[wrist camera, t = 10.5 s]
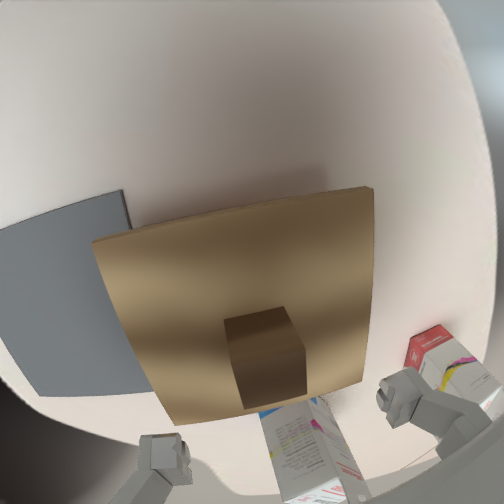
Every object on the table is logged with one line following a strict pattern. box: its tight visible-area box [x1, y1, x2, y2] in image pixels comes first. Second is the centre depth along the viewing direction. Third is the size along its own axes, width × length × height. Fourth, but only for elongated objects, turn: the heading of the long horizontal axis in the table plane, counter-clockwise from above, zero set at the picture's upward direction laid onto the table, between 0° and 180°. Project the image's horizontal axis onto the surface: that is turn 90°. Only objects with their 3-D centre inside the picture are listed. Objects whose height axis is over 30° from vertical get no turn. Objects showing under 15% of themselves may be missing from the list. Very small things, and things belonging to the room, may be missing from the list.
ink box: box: [258, 396, 373, 504], centre depth 20 cm, size 8×5×15 cm, turn 35°
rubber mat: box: [0, 190, 154, 397], centre depth 19 cm, size 17×17×1 cm
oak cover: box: [91, 186, 374, 426], centre depth 14 cm, size 14×14×4 cm
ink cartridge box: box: [403, 325, 504, 443], centre depth 22 cm, size 9×5×15 cm, turn 10°
